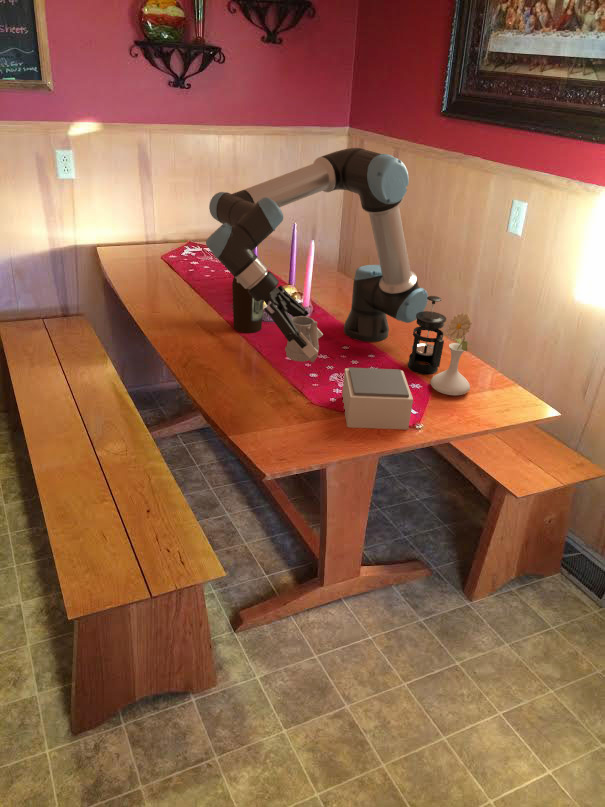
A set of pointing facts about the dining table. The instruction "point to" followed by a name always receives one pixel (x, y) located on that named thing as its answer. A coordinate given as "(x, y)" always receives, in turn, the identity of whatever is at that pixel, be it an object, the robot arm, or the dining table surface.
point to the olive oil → (246, 310)
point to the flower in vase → (454, 359)
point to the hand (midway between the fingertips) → (316, 346)
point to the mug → (309, 331)
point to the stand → (376, 398)
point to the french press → (424, 350)
